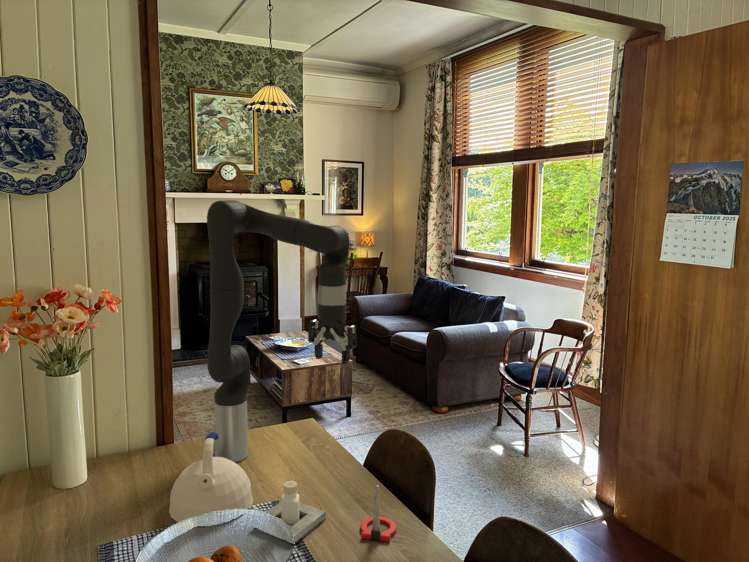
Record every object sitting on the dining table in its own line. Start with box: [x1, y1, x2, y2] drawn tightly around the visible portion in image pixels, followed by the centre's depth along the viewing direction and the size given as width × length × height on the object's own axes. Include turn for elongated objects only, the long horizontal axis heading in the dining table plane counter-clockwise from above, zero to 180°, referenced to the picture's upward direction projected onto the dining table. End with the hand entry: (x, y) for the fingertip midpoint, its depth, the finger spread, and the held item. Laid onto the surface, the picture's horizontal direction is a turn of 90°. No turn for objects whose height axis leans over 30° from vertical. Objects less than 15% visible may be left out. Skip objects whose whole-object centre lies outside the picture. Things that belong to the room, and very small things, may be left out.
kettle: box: [168, 431, 254, 523], centre depth 141 cm, size 20×21×18 cm
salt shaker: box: [280, 480, 300, 525], centre depth 134 cm, size 4×4×10 cm
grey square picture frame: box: [265, 500, 327, 543], centre depth 134 cm, size 12×12×2 cm
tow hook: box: [360, 484, 398, 543], centre depth 132 cm, size 8×13×9 cm
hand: (332, 360), depth 152 cm, fingers open, 8 cm apart
